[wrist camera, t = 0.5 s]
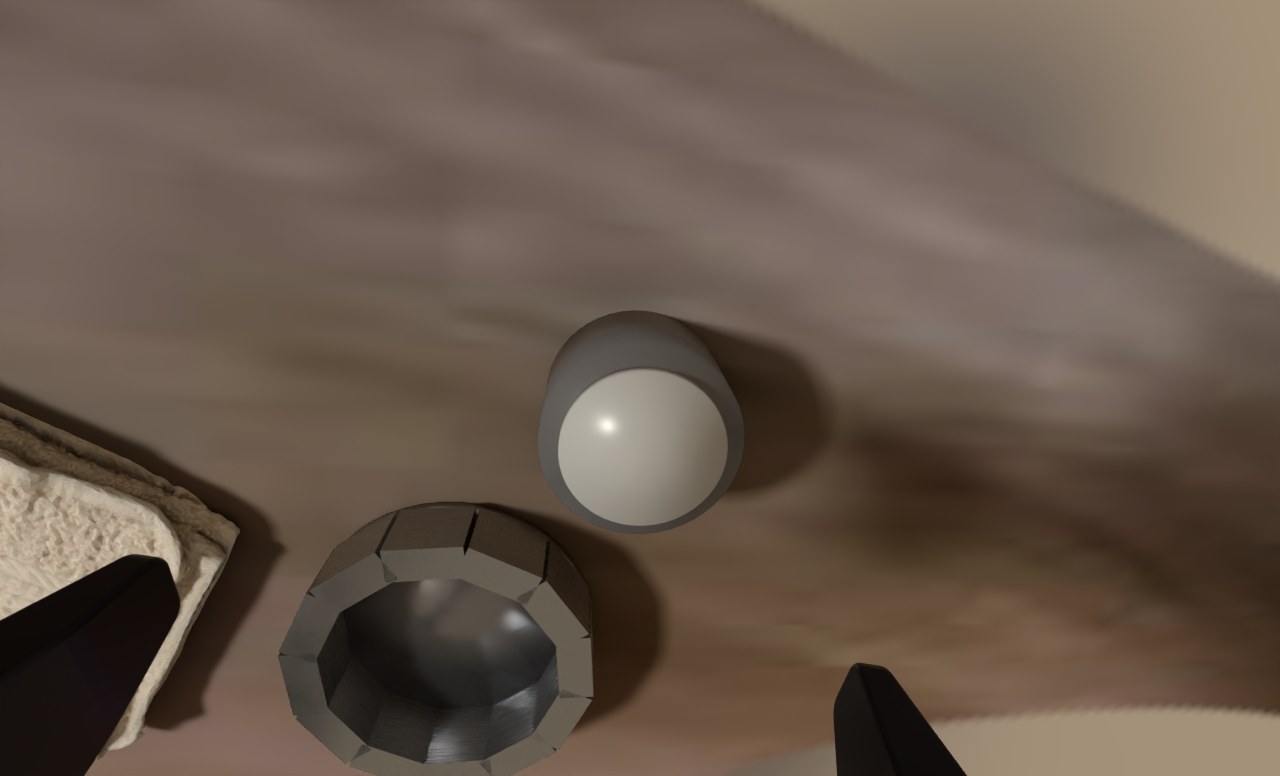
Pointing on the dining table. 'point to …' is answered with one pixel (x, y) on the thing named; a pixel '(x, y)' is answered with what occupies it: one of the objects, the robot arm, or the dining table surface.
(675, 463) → the cap
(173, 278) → the dining table surface
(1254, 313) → the dining table surface
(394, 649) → the grey ring
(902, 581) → the dining table surface
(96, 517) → the washcloth
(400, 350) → the dining table surface
